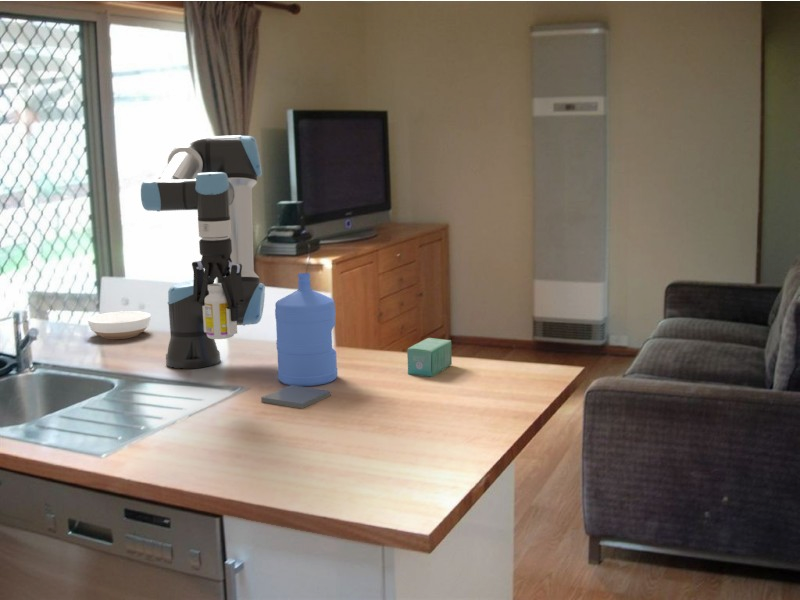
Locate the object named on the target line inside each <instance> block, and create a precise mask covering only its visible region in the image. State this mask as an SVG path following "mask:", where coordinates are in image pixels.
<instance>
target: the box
mask: <svg viewBox="0 0 800 600" xmlns="http://www.w3.org/2000/svg"><path fill="white" fill-rule="evenodd" d="M406 353H407V375H410V376H411V375H412V376H422V377H428V376H429V377H430V378H433V377H434V375H435V376H436V375H438V374H440V373H441V372H443V371H444V370H446V369H447V368H448V366H449V367H450V366H451V365H452V361H453V360H452V358H453V357H452V340H451V339H442V338H433V337H428V338H424V339H423V340H421V341H419V342H417V343H415V344H413V345H411V346H410V347H408V348H407V352H406ZM445 368H446V369H445ZM442 370H443V371H442ZM440 371H441V372H440ZM439 372H440V373H439ZM437 373H438V374H437ZM429 377H428V378H429Z"/></svg>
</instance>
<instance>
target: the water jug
mask: <svg viewBox="0 0 800 600" xmlns="http://www.w3.org/2000/svg"><path fill="white" fill-rule="evenodd" d="M297 277H298V280H297V283H298V289H296V290H295V291H293V292H292V293H290V294H288V295H286V296H284V297H282V298H280V299H279V300H277V301H276V302H275V305H274V306H275V309H274V317H275V324H276V326H275V329H276V343H275V344H276V350H277V379H278V380H279V382H280V383H282V384H285V385H288V386H290V385H295V386H302V387H315V386H321V385H326V384H329V383H332V382H333V381H335V380H336V379H337V377H338V367H337V366H338V365H337V364H338V363H337V360H338V359H337V351H336V350H335V349H334V348H333V334H332V332H333V329H334V327H336V306H335V305H336V304H335V300H334V299H333V298H331V297H329V296H327V295H324V294H322V293H320V292H318V291H315V290H314V289H312V288H311V278H310V277H311V273H306V272H304V273H302V272H301V273H298V274H297Z"/></svg>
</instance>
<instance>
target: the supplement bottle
mask: <svg viewBox="0 0 800 600" xmlns="http://www.w3.org/2000/svg"><path fill="white" fill-rule="evenodd" d="M208 291H209V295H207V296H206V297H205V299H204V303H205V318H206V333H207V337H208V338H210V339H214V340H226V339H230V338H233V337H234V335H235V334H233V335H227V318H226V308H227V307H229V306H228V303H227V300H226V297H225V294H224V291H223V288H222V285H221V283H218V282H214V283H213V284H209V285H208Z"/></svg>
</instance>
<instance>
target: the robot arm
mask: <svg viewBox="0 0 800 600" xmlns="http://www.w3.org/2000/svg"><path fill="white" fill-rule="evenodd" d="M262 175H263V170H262V162H261V157H260V150H259V147H258V142H257V140H256V138H255V137H254V136H251V135H240V134H237V135H213V136H212V135H209V136H208V135H202V136H197V137H194V138H193V137H192V138H191V139H188V140H185V141H184V142H182V143H180V144H179V145H177V146H176V147H175V148H174V149H173V150H172V151H171V152H170V154H169V156H168V158H167V165H166V166H165V168H164V169H163V171H162V172H161V174H160V175H159V177H158V179H155V178H154V179H153V178H152V179H149V180H143V182H142V183H141V185H140V186H141V187H140V199H141V201H140V202H141V205H142V207H143V209H144V210H145V211H149V212H150V211H154V212H155V211H156V212H165V211H166V212H167V211H168V212H169V211H197V224H198V225H197V226H198V227H197V228H198V237H199V238H200V239H199V241H198V243H199V254H200V255H201V260H198V261H193V262H191V267H192V271H193V280H188V281H182V282H179V283H175V284H174V285H172V286H170V288H169V289H168V292H167V295H168V296H167V298H168V299H167V300H168V301H167V304H168V305H167V306H168V317H169V318H168V319H169V329H170V330H169V331H170V332H169V333H170V339H169V343H168V348H167V353H166V354H165V365H166V366H167V367H169V368H172V367H174V368H173V369H180V368H183V370H185V369H187V370H188V369H189V370H190V369H201V368H206V367H210V366H215V365H217V364H218V363H220V362H221V352H220V350H219V349H218V346H217V343H216V339H210V338H208V337H207V333H206V318H205V303H204V299H205V297H206V296H207V295H209V291H208V285H209V284H213V283H215V279H216V278H217V283H221V285H222V288H223V291H224V294H225V297H226V300H227V303H228V306H229V307H227V308H226V318H227V335H233V334H234V335H236V334H238V326H243V327H245V326H250V325H257V324H259V323H260V322H261V319H262V317H263V313H264V307H265V298H266V297H265V295H266V293H265V292H266V291H265V289H266V286H265V284H264V283H262V282H260V276H258V274H257V273H256V271H254V270H255V269H254V267H255V266H254V235H253V234H254V230H253V228H254V227H253V225H254V224H253V193H252V192H253V190H252V189H253V188H254V187H255V186H256V185H257V184H258V179H257V178H260V177H262Z"/></svg>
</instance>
